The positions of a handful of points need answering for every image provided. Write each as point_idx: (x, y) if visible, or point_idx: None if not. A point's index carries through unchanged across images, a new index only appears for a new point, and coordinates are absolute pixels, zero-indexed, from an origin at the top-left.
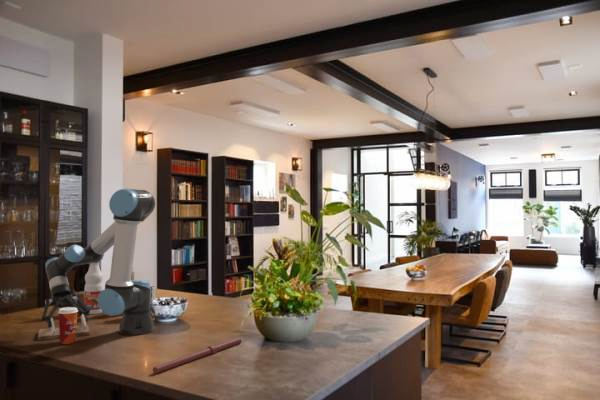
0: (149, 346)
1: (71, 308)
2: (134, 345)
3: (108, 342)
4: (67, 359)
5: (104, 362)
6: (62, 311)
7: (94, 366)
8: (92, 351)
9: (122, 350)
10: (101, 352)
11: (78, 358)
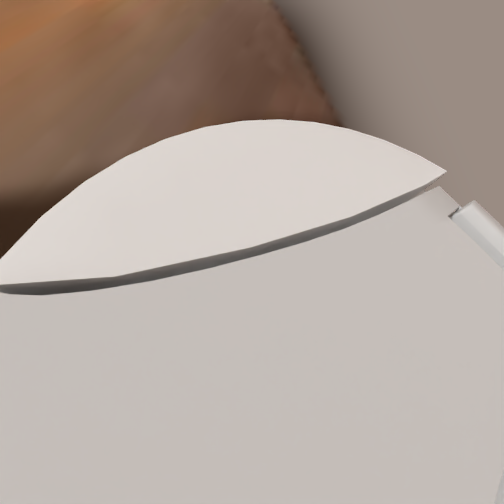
0: (13, 25)
1: (214, 349)
2: (38, 69)
3: (74, 182)
4: (315, 100)
5: (236, 16)
6: (487, 252)
7: (271, 13)
8: (212, 116)
9: (122, 55)
10: (193, 85)
11: (283, 86)
